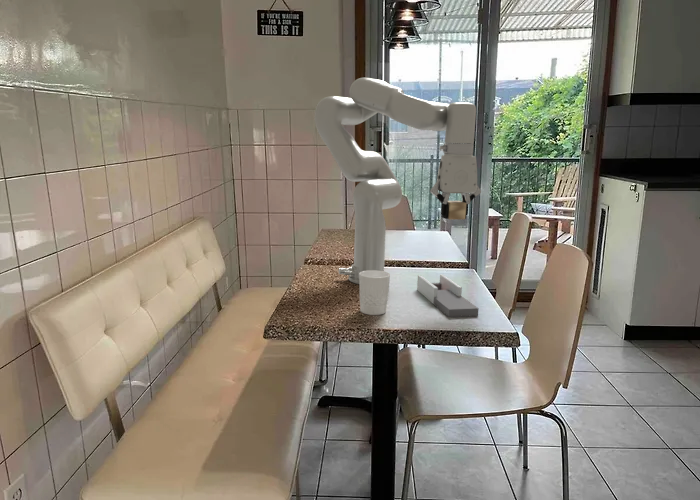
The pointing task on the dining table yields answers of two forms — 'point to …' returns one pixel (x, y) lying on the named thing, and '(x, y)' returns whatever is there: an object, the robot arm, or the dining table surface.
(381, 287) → the white cup
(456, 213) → the maple block
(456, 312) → the channel
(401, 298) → the dining table surface
